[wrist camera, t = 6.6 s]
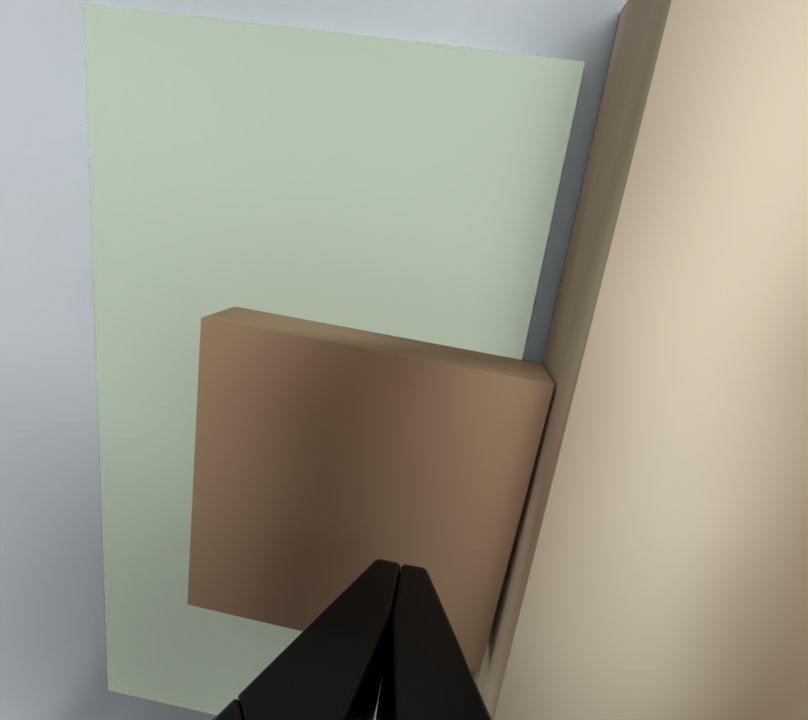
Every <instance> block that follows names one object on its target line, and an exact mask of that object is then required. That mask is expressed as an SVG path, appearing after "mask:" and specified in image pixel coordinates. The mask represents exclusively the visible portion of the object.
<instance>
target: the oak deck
mask: <svg viewBox="0 0 808 720" xmlns="http://www.w3.org/2000/svg"><path fill="white" fill-rule="evenodd" d="M542 364H543V365H544V367H545V369H546V371H547V372H548V374H549V376H550V377H551V379H552V381H553V383H554V384H555V385H554V389H553V393H552V397H551V401H550V405H549V408H548V412H547V416H546V420H545V424H544V428H543V431H542V435H541V439H540V443H539V447H538V451H537V454H536V458H535V462H534V466H533V470H532V474H531V477H530V481H529V485H528V489H527V493H526V497H525V500H524V504H523V508H522V512H521V516H520V519H519V523H518V527H517V531H516V535H515V539H514V542H513V546H512V550H511V554H510V558H509V562H508V565H507V569H506V573H505V577H504V581H503V585H502V588H501V592H500V596H499V600H498V604H497V608H496V611H495V615H494V619H493V623H492V627H491V631H490V634H489V638H488V642H487V646H486V650H485V654H484V657H483V661H482V665H481V669H480V673H479V672H475V671H473V673H472V674H473V677H474V679H475V681H476V684H477V686H478V688H479V690H480V693H481V695H482V697H483V700H484V702H485V704H486V707H487V709H488V711H489V713H490V716H491V718H492V720H808V0H628V1H627V3H626V4H625V5H624V7H623V8H622V10H621V14H620V19H619V23H618V27H617V32H616V36H615V41H614V45H613V50H612V54H611V59H610V63H609V68H608V72H607V76H606V81H605V85H604V90H603V94H602V99H601V103H600V108H599V112H598V117H597V121H596V125H595V130H594V134H593V139H592V143H591V148H590V152H589V157H588V161H587V165H586V170H585V174H584V179H583V183H582V188H581V192H580V197H579V201H578V206H577V210H576V214H575V219H574V223H573V228H572V232H571V237H570V241H569V246H568V250H567V255H566V259H565V263H564V268H563V272H562V277H561V281H560V286H559V290H558V295H557V299H556V304H555V308H554V312H553V317H552V321H551V326H550V330H549V335H548V339H547V344H546V348H545V353H544V357H543V361H542Z"/></svg>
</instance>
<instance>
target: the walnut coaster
mask: <svg viewBox="0 0 808 720" xmlns="http://www.w3.org/2000/svg"><path fill="white" fill-rule="evenodd" d="M554 385H555V384H554V383H553V381H552V379H551V377H550V376H549V374H548V372H547V371H546V369H545V367H544V365H543V364H542V363H537V362H531V361H526V360H520V359H515V358H510V357H504V356H499V355H493V354H488V353H483V352H477V351H472V350H467V349H461V348H456V347H451V346H445V345H440V344H434V343H429V342H424V341H418V340H413V339H408V338H402V337H397V336H391V335H386V334H381V333H375V332H370V331H365V330H359V329H354V328H348V327H343V326H338V325H332V324H327V323H322V322H316V321H311V320H305V319H300V318H295V317H289V316H284V315H279V314H273V313H268V312H262V311H257V310H252V309H246V308H241V307H236V306H235V307H232V308H229V309H226V310H223V311H220V312H217V313H214V314H211V315H208V316H205V317H202V318H201V328H200V349H199V370H198V391H197V412H196V433H195V453H194V474H193V495H192V516H191V537H190V558H189V579H188V600H187V605H191V606H196V607H200V608H204V609H209V610H213V611H217V612H221V613H226V614H230V615H234V616H239V617H243V618H247V619H251V620H256V621H260V622H264V623H269V624H273V625H277V626H282V627H286V628H290V629H294V630H299V631H304V630H305V629H306V628H307V627H308V626H309V625H310V624H311V623H312V622H313V621H314V620H315V619H316V618H317V617H318V616H319V615H320V614H321V613H322V612H323V611H324V610H325V609H326V608H327V607H328V606H329V605H330V604H331V603H332V602H333V601H334V600H335V599H336V598H337V597H338V596H339V595H340V594H341V593H342V592H343V591H344V590H345V589H347V588H348V587H349V586H350V585H351V584H352V583H353V582H354V581H355V580H356V579H357V578H358V577H359V576H360V575H361V574H362V573H363V572H364V571H365V570H366V569H367V568H368V567H369V566H370V565H371V564H372V563H373V562H374V561H375V560H377V559H383V560H388V561H393V562H397V563H399V564H400V566H402V565H404V564H408V565H413V566H418V567H423V568H425V569H426V570H427V572H428V574H429V576H430V578H431V580H432V583H433V585H434V587H435V590H436V592H437V594H438V596H439V599H440V601H441V603H442V606H443V608H444V610H445V612H446V615H447V617H448V619H449V622H450V624H451V626H452V629H453V631H454V633H455V635H456V638H457V640H458V642H459V645H460V647H461V649H462V651H463V654H464V656H465V658H466V661H467V663H468V665H469V668H470V670H471V671H475V672H479V673H480V669H481V665H482V661H483V657H484V654H485V650H486V646H487V642H488V638H489V634H490V631H491V627H492V623H493V619H494V615H495V611H496V608H497V604H498V600H499V596H500V592H501V588H502V585H503V581H504V577H505V573H506V569H507V565H508V562H509V558H510V554H511V550H512V546H513V542H514V539H515V535H516V531H517V527H518V523H519V519H520V516H521V512H522V508H523V504H524V500H525V497H526V493H527V489H528V485H529V481H530V477H531V474H532V470H533V466H534V462H535V458H536V454H537V451H538V447H539V443H540V439H541V435H542V431H543V428H544V424H545V420H546V416H547V412H548V408H549V405H550V401H551V397H552V393H553V389H554ZM400 570H401V568H400Z"/></svg>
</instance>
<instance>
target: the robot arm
mask: <svg viewBox="0 0 808 720" xmlns="http://www.w3.org/2000/svg"><path fill="white" fill-rule="evenodd" d="M400 568H401V570H400ZM379 691H380V693H379ZM378 697H379V699H378ZM377 702H378V706H377ZM376 707H377V712H376ZM375 712H376V720H492V718H491V716H490V713H489V711H488V709H487V707H486V704H485V702H484V700H483V697H482V695H481V693H480V690H479V688H478V686H477V684H476V681H475V679H474V677H473V674H472V672H471V670H470V668H469V665H468V663H467V661H466V658H465V656H464V654H463V651H462V649H461V647H460V645H459V642H458V640H457V638H456V635H455V633H454V631H453V629H452V626H451V624H450V622H449V619H448V617H447V615H446V612H445V610H444V608H443V606H442V603H441V601H440V599H439V596H438V594H437V592H436V590H435V587H434V585H433V583H432V580H431V578H430V576H429V574H428V572H427V570H426V569H425V568H423V567H418V566H413V565H408V564H404V565H402V566H400V564H399V563H397V562H393V561H388V560H383V559H377V560H375V561H374V562H373V563H372V564H371V565H370V566H369V567H368V568H367V569H366V570H365V571H364V572H363V573H362V574H361V575H360V576H359V577H358V578H357V579H356V580H355V581H354V582H353V583H352V584H351V585H350V586H349V587H348V588H347V589H345V590H344V591H343V592H342V593H341V594H340V595H339V596H338V597H337V598H336V599H335V600H334V601H333V602H332V603H331V604H330V605H329V606H328V607H327V608H326V609H325V610H324V611H323V612H322V613H321V614H320V615H319V616H318V617H317V618H316V619H315V620H314V621H313V622H312V623H311V624H310V625H309V626H308V627H307V628H306V629H305V630H304V631H303V632H302V633H301V634H300V635H299V636H298V637H297V638H296V639H295V640H294V641H293V642H292V643H291V644H290V645H289V646H288V647H287V648H286V649H285V650H283V651H282V652H281V653H280V654H279V655H278V656H277V657H276V658H275V659H274V660H273V661H272V662H271V663H270V664H269V665H268V666H267V667H266V668H265V669H264V670H263V671H262V672H261V673H260V674H259V675H258V676H257V677H256V678H255V679H254V680H253V681H252V682H251V683H250V684H249V685H248V686H247V687H246V688H245V689H244V690H243V691H242V692H241V693H240V694H239V695H238V700H237V699H233V700H232V701H231V702H230V703H229V704H228V705H227V706H226V707H225V708H224V709H223V710H222V711H221V712H220V713H219V714H218V715H217V716H216V717H215V718H214V719H213V720H374V716H375Z"/></svg>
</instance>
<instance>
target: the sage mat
mask: <svg viewBox="0 0 808 720" xmlns="http://www.w3.org/2000/svg"><path fill="white" fill-rule="evenodd" d="M83 7H84V35H85V63H86V91H87V119H88V147H89V176H90V204H91V232H92V260H93V288H94V316H95V345H96V373H97V401H98V429H99V457H100V485H101V513H102V542H103V570H104V598H105V626H106V654H107V682H108V691H112V692H117V693H121V694H125V695H130V696H134V697H138V698H143V699H147V700H151V701H156V702H160V703H164V704H169V705H173V706H177V707H182V708H186V709H191V710H195V711H199V712H204V713H208V714H212V715H218V714H219V713H220V712H221V711H222V710H223V709H224V708H225V707H226V706H227V705H228V704H229V703H230V702H231V701H232V700H233V699H237V700H238V695H239V694H240V693H241V692H242V691H243V690H244V689H245V688H246V687H247V686H248V685H249V684H250V683H251V682H252V681H253V680H254V679H255V678H256V677H257V676H258V675H259V674H260V673H261V672H262V671H263V670H264V669H265V668H266V667H267V666H268V665H269V664H270V663H271V662H272V661H273V660H274V659H275V658H276V657H277V656H278V655H279V654H280V653H281V652H282V651H283V650H285V649H286V648H287V647H288V646H289V645H290V644H291V643H292V642H293V641H294V640H295V639H296V638H297V637H298V636H299V635H300V634H301V633H302V632H303V631H299V630H294V629H290V628H286V627H282V626H277V625H273V624H269V623H264V622H260V621H256V620H251V619H247V618H243V617H239V616H234V615H230V614H226V613H221V612H217V611H213V610H209V609H204V608H200V607H196V606H191V605H187V600H188V579H189V558H190V537H191V516H192V495H193V474H194V453H195V433H196V412H197V391H198V370H199V349H200V328H201V318H202V317H205V316H208V315H211V314H214V313H217V312H220V311H223V310H226V309H229V308H232V307H235V306H236V307H241V308H246V309H252V310H257V311H262V312H268V313H273V314H279V315H284V316H289V317H295V318H300V319H305V320H311V321H316V322H322V323H327V324H332V325H338V326H343V327H348V328H354V329H359V330H365V331H370V332H375V333H381V334H386V335H391V336H397V337H402V338H408V339H413V340H418V341H424V342H429V343H434V344H440V345H445V346H451V347H456V348H461V349H467V350H472V351H477V352H483V353H488V354H493V355H499V356H504V357H510V358H515V359H520V360H522V357H523V352H524V348H525V343H526V338H527V333H528V329H529V324H530V319H531V315H532V310H533V305H534V300H535V296H536V291H537V286H538V282H539V277H540V272H541V267H542V263H543V258H544V253H545V249H546V244H547V239H548V235H549V230H550V225H551V220H552V216H553V211H554V206H555V202H556V197H557V192H558V187H559V183H560V178H561V173H562V169H563V164H564V159H565V154H566V150H567V145H568V140H569V136H570V131H571V126H572V122H573V117H574V112H575V107H576V103H577V98H578V93H579V89H580V84H581V79H582V74H583V70H584V65H585V61H577V60H568V59H559V58H551V57H542V56H533V55H525V54H516V53H507V52H498V51H490V50H481V49H472V48H464V47H455V46H446V45H438V44H429V43H420V42H412V41H403V40H394V39H385V38H377V37H368V36H359V35H351V34H342V33H333V32H325V31H316V30H307V29H298V28H290V27H281V26H272V25H264V24H255V23H246V22H238V21H229V20H220V19H211V18H203V17H194V16H185V15H177V14H168V13H159V12H151V11H142V10H133V9H124V8H116V7H107V6H98V5H90V4H83ZM379 693H380V691H379ZM378 699H379V697H378ZM377 706H378V702H377ZM376 712H377V707H376ZM376 712H375V716H374V720H376Z"/></svg>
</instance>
